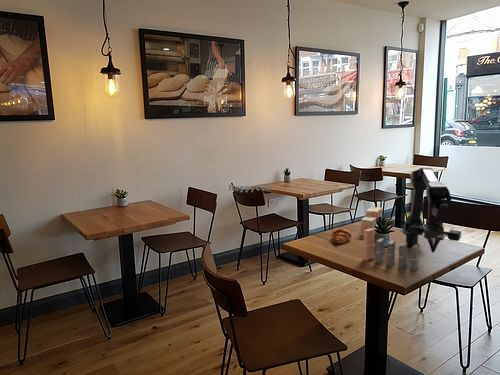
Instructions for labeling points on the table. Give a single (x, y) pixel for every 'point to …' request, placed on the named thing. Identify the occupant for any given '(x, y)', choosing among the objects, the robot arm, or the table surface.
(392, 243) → the domino
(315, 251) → the table surface
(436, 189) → the robot arm
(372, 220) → the stack of blocks
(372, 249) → the domino
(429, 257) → the table surface
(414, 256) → the domino
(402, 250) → the domino
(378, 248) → the domino
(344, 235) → the croissant
